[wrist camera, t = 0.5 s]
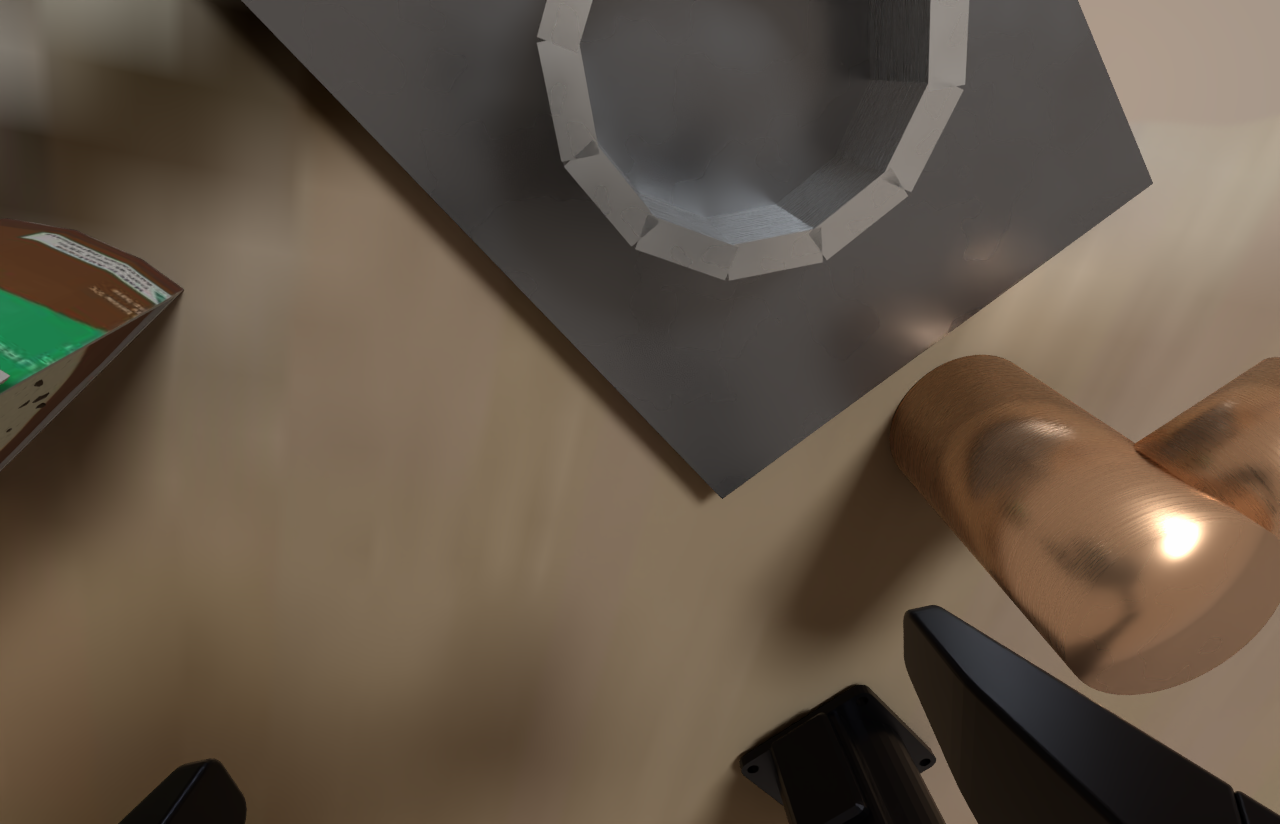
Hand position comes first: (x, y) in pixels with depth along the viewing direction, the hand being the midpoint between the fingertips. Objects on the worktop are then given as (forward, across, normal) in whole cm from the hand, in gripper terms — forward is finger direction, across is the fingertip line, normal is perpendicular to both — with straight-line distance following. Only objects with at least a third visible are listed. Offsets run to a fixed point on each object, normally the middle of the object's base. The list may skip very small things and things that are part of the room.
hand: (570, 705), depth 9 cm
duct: (+13, -6, -7) cm, 15 cm away
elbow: (+13, -14, +5) cm, 19 cm away
